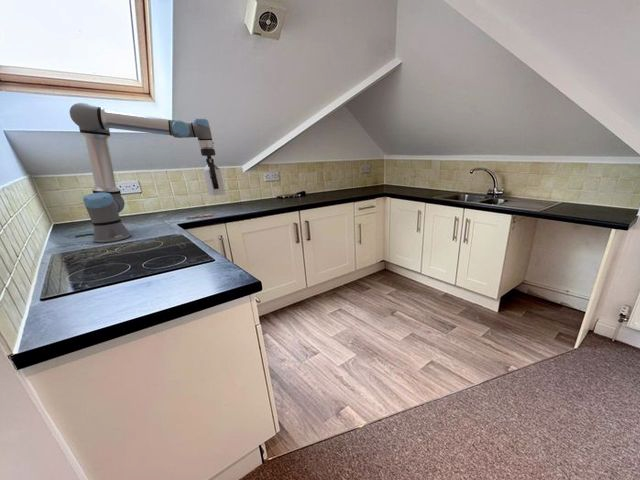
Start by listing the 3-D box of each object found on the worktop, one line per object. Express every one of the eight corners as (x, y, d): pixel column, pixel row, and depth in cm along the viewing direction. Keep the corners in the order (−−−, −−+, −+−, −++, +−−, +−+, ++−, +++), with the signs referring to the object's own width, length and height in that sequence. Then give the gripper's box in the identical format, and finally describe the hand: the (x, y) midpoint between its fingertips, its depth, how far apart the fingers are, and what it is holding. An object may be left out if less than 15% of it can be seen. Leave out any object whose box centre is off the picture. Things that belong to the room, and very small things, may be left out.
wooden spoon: (187, 219, 198) (186, 217, 197) (187, 218, 202) (186, 216, 201) (212, 216, 205) (212, 214, 204) (211, 215, 208) (211, 213, 208)
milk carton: (214, 196, 181) (206, 162, 173) (209, 195, 185) (201, 162, 177) (225, 194, 186) (218, 162, 178) (220, 193, 190) (213, 161, 182)
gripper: (215, 148, 167) (224, 189, 177) (213, 148, 185) (221, 185, 194) (200, 148, 164) (210, 190, 173) (199, 148, 182) (208, 186, 191)
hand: (216, 188), depth 184 cm, fingers closed on milk carton, 9 cm apart
